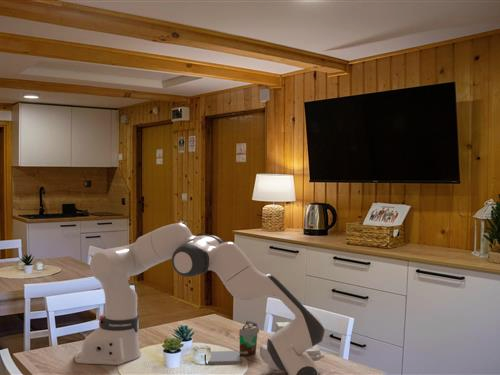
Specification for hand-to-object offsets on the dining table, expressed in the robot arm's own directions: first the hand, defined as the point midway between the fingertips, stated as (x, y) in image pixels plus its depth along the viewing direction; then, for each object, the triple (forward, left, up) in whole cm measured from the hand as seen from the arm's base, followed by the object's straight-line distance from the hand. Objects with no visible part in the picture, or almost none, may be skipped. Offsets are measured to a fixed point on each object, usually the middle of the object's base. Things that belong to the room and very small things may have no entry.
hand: (285, 344), depth 179 cm
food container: (-11, +11, -6) cm, 17 cm away
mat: (-22, +5, -6) cm, 23 cm away
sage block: (0, +5, -6) cm, 8 cm away
